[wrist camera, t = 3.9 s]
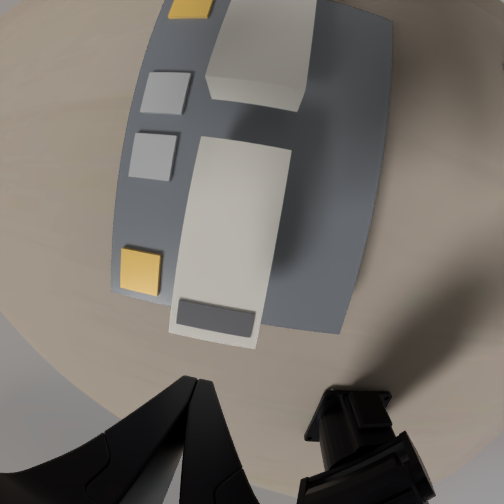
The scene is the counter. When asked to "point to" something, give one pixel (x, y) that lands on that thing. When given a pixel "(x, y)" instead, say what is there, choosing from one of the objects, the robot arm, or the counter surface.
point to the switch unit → (264, 133)
